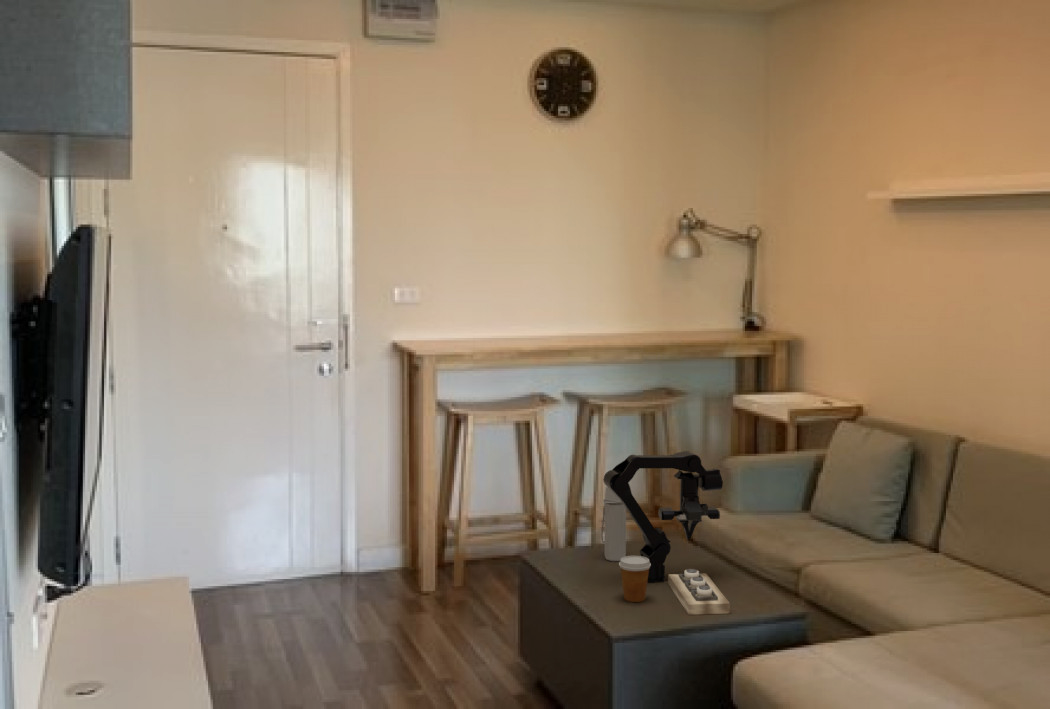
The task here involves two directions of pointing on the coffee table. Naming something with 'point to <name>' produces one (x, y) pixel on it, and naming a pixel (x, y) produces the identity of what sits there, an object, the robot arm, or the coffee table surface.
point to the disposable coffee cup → (634, 577)
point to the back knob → (690, 574)
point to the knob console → (698, 604)
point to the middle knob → (696, 582)
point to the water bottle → (614, 527)
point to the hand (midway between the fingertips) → (688, 539)
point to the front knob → (704, 591)
